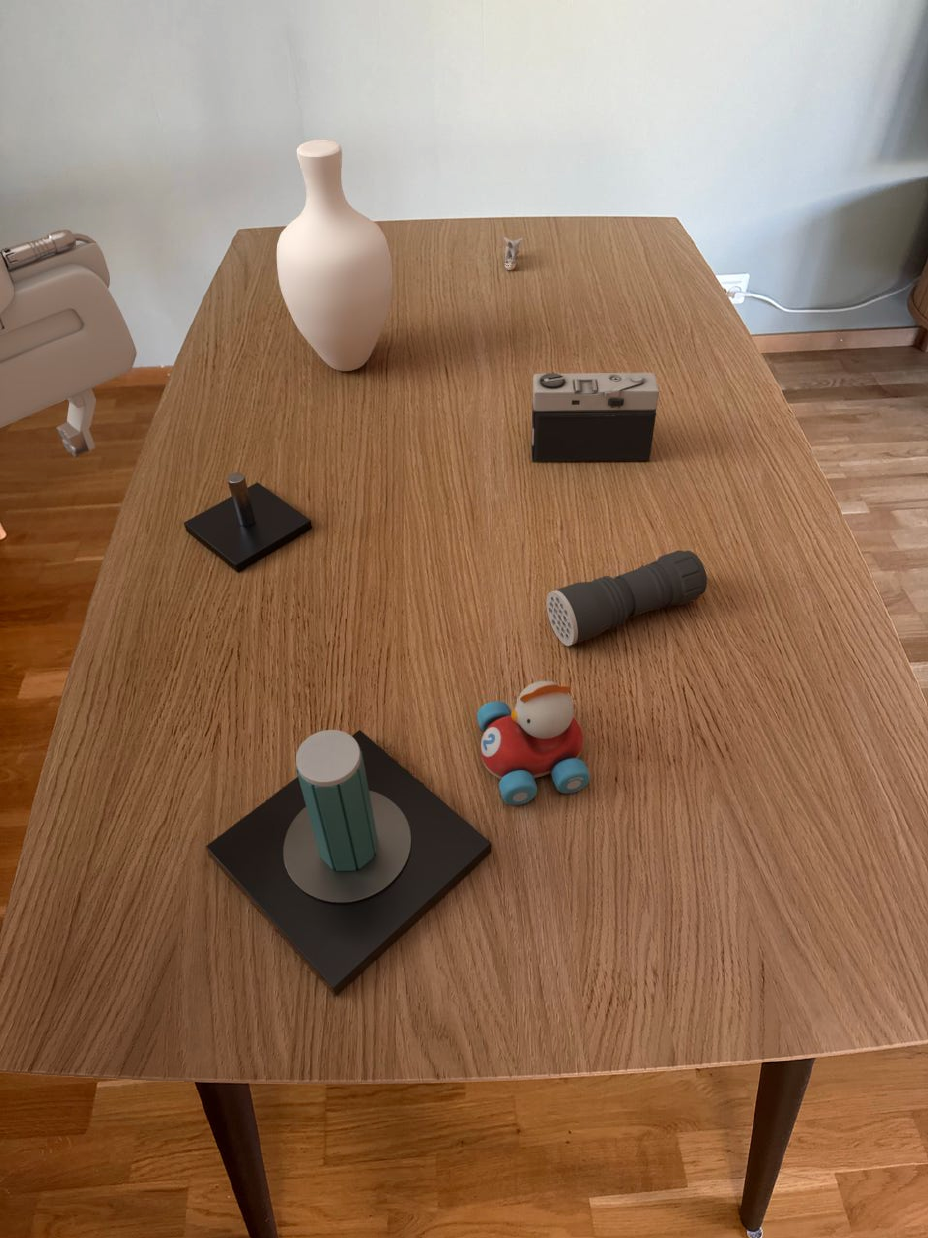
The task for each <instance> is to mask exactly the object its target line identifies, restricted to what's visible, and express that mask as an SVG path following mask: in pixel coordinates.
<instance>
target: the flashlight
mask: <svg viewBox="0 0 928 1238" xmlns="http://www.w3.org/2000/svg"><path fill="white" fill-rule="evenodd" d="M707 587H708V575H707V572H706V568H705V566H704V564H703V562H702V560H701V559H700V558H699V556H698V555H697V554H696V553H695V552H693V551H691V550H685V551H684V550H676V551H673V552H669V553H667V554H663V555H660V556H659V557H658V558H657V559H656V560H655V561H652V562H650V563H648V564H644V565H641V566H639V567H638V568H637V569H634V570H631V571H628V572H625V573H622V574H619V575H617V576H615V577H614V578H613V577H612V576H609V575H604V576H602V577H599V578H595V579H593V580H591V581H582V582H575V583H572V584H570V585H567V586H563V587H560V588H557V589H555V590H552V591H549V592H548V593H547V596H546V611H547V616H548V621H549V623H550V626H551V628H552V631H553V632H554V634H555V636H556V638H557V639H558V640H559V641H560V643H561V644H562V645H564V646H566V647H570V646H573V645H576V644H578V643H581V642H584V641H587V640H590V639H593V638H596V637H598V636H599V635H601V634H602V633H603V632H605V631H607V630H609V629H611V630H612V629H613V628H616V627H619V626H622V625H624V624H625V622H626V621H627V620H628V619H627V618H633V617H636V616H638V615H641V614H645V613H648V612H650V611H658V610H659V609H664V608H666V607H670V606H677V607H679V606H682V605H685V604H688V603H691V602H693V601H696V600H698V598H700V596H701V595H703V594H705V592H706V590H707Z"/></svg>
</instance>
